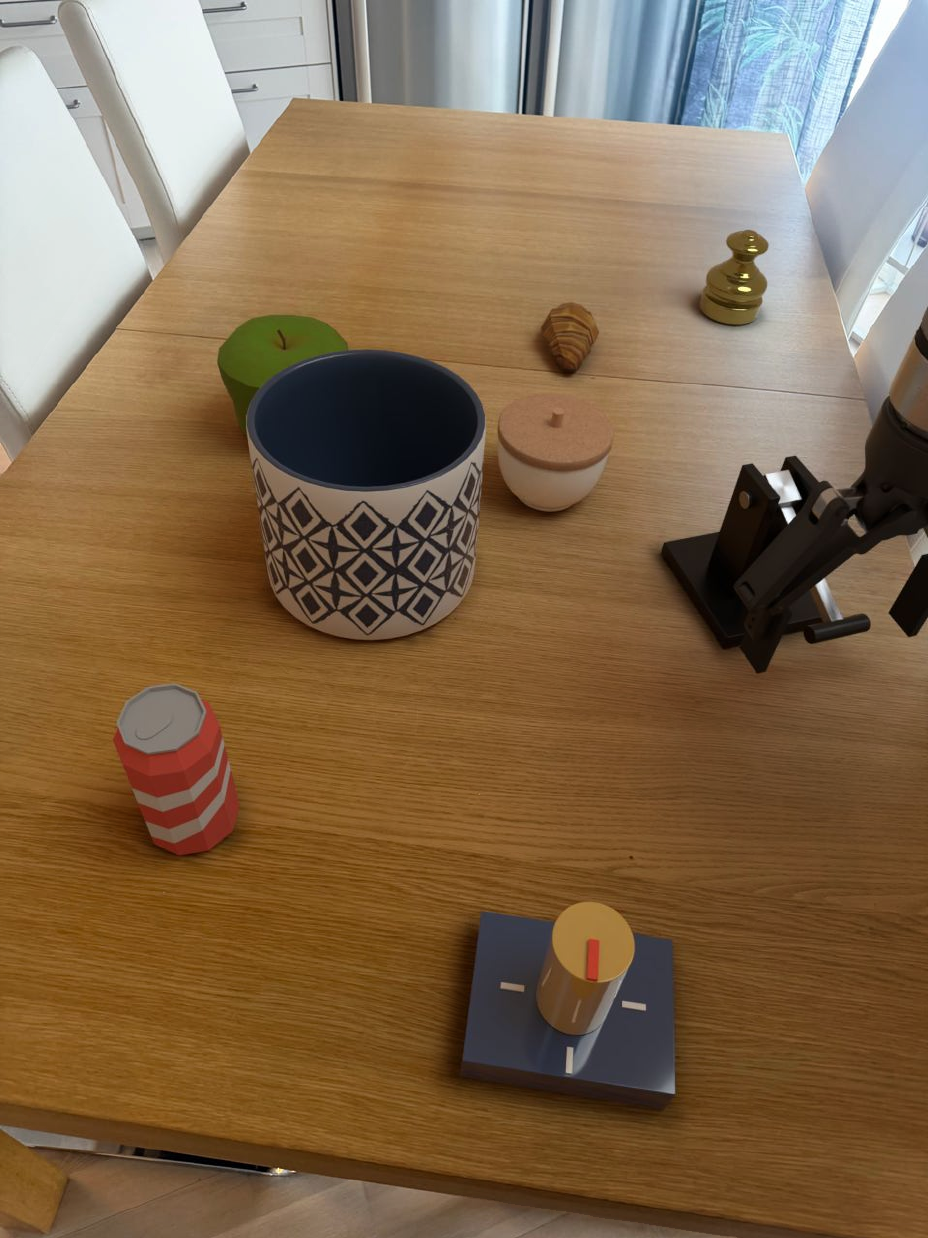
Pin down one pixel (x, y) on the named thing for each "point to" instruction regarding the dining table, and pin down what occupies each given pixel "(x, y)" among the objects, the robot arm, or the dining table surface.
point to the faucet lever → (821, 592)
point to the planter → (368, 490)
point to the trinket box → (553, 449)
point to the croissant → (570, 335)
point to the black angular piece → (738, 554)
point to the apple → (270, 353)
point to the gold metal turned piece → (736, 281)
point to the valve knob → (584, 967)
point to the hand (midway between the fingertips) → (828, 641)
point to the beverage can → (177, 768)
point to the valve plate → (555, 1061)
